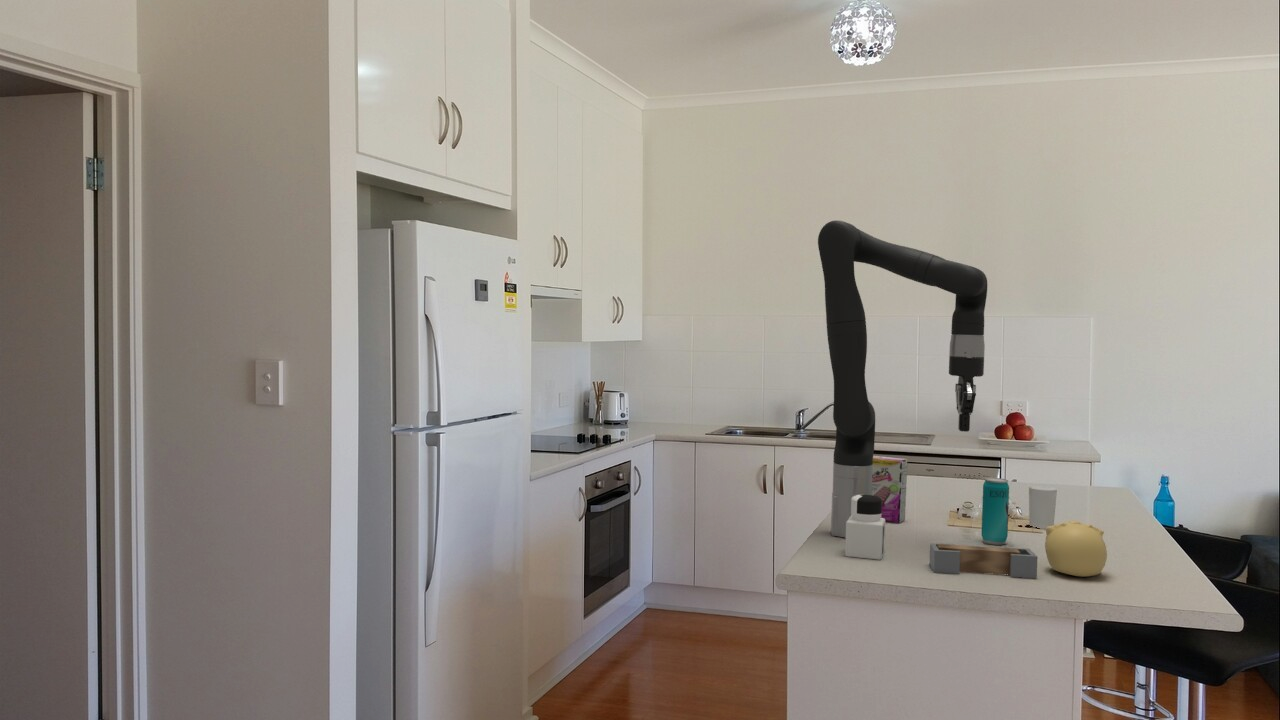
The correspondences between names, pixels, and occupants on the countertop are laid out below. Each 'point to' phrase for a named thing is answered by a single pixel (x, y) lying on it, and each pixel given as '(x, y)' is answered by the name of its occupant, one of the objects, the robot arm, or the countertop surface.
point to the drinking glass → (1042, 506)
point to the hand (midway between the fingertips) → (963, 431)
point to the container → (865, 528)
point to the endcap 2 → (1023, 564)
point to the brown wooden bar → (982, 558)
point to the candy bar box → (890, 486)
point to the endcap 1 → (944, 560)
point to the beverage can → (995, 511)
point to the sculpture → (1075, 548)
